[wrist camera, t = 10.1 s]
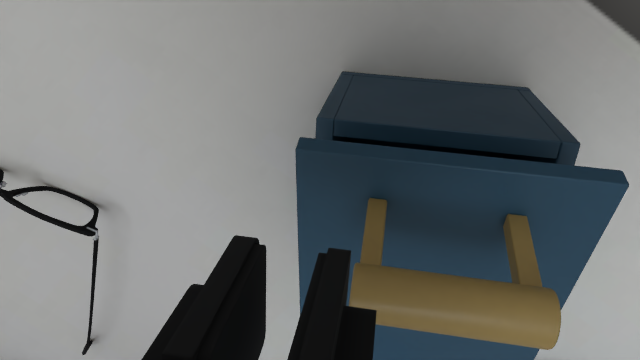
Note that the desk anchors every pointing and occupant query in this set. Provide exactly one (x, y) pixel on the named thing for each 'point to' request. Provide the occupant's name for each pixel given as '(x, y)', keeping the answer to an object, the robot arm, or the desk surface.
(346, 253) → the robot arm
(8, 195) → the eyeglasses
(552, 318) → the lid
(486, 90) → the chest
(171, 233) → the desk surface
